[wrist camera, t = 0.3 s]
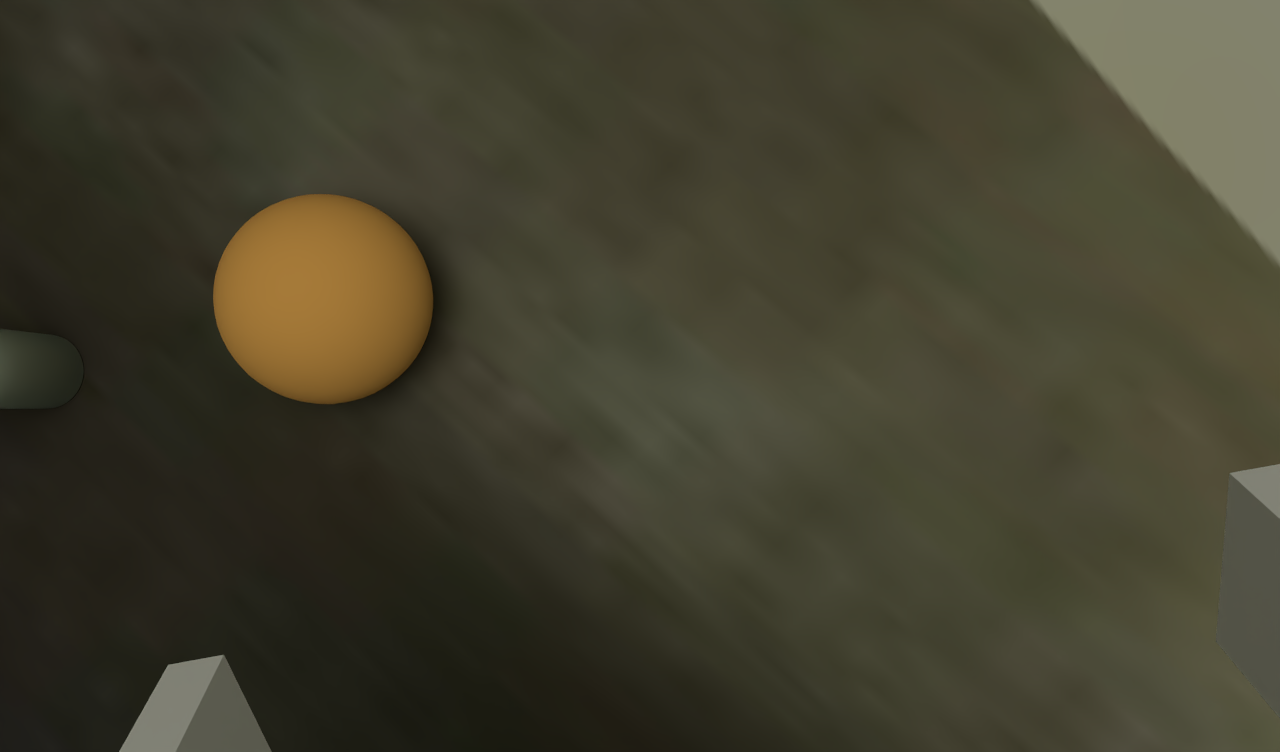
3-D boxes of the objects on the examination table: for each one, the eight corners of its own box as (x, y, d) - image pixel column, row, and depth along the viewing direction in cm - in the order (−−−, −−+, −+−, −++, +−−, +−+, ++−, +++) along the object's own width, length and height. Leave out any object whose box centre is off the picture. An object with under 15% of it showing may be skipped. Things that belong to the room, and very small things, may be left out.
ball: (470, 385, 31) (416, 380, 25) (286, 419, 31) (191, 423, 25) (436, 199, 31) (375, 151, 25) (254, 236, 32) (152, 196, 26)
